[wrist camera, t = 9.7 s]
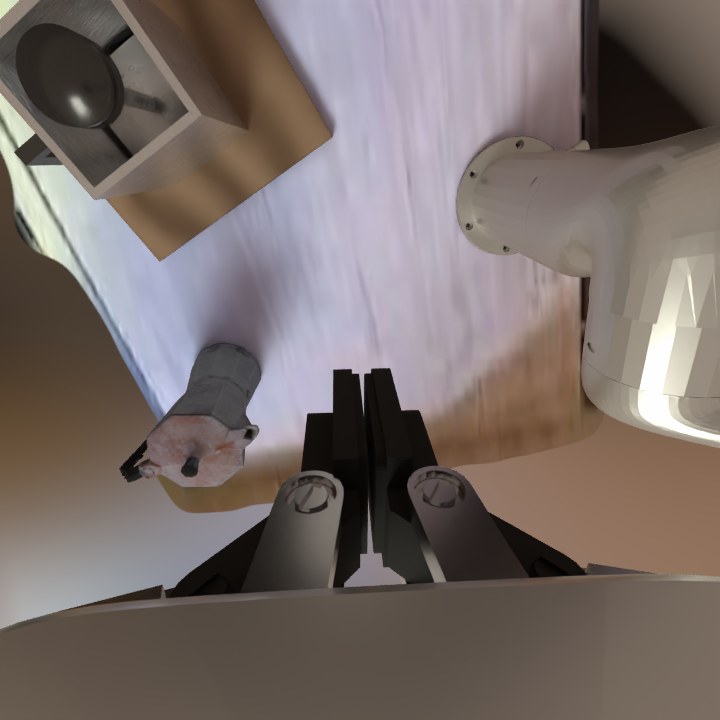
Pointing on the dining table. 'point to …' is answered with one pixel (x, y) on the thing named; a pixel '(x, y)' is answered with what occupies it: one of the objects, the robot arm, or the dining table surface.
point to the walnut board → (254, 107)
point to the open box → (102, 146)
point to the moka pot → (204, 423)
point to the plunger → (96, 84)
